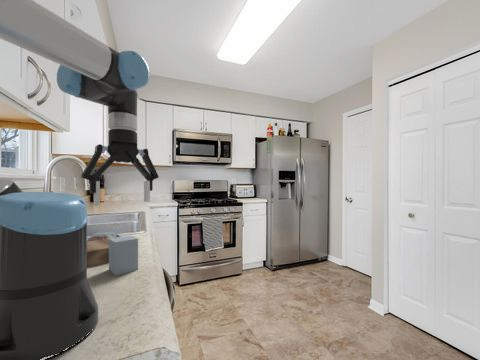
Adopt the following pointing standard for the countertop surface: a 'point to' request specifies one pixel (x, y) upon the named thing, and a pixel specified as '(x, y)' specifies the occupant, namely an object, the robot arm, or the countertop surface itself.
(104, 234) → the packaged food
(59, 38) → the robot arm
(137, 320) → the countertop surface
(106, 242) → the walnut block
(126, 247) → the slate block
